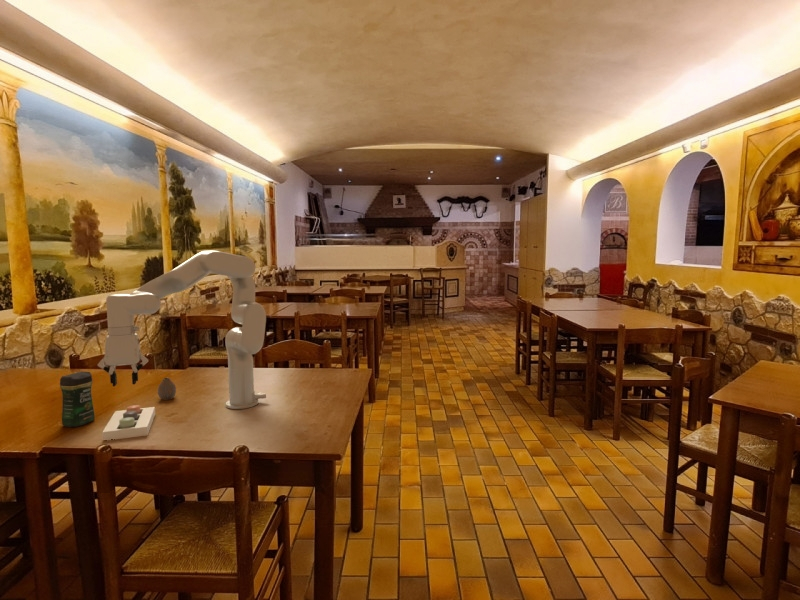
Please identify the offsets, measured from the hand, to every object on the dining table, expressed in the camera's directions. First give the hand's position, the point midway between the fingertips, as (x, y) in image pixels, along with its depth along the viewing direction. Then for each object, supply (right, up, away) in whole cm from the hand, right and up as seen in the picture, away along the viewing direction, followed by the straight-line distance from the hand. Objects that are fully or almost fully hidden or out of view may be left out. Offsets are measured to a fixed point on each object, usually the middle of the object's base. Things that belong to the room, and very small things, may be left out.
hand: (124, 383), depth 156 cm
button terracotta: (-5, -14, +14) cm, 21 cm away
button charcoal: (-3, -15, +8) cm, 17 cm away
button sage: (0, -15, +2) cm, 15 cm away
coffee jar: (-23, -17, +12) cm, 31 cm away
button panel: (-3, -17, +8) cm, 19 cm away
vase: (-6, -14, +40) cm, 43 cm away
